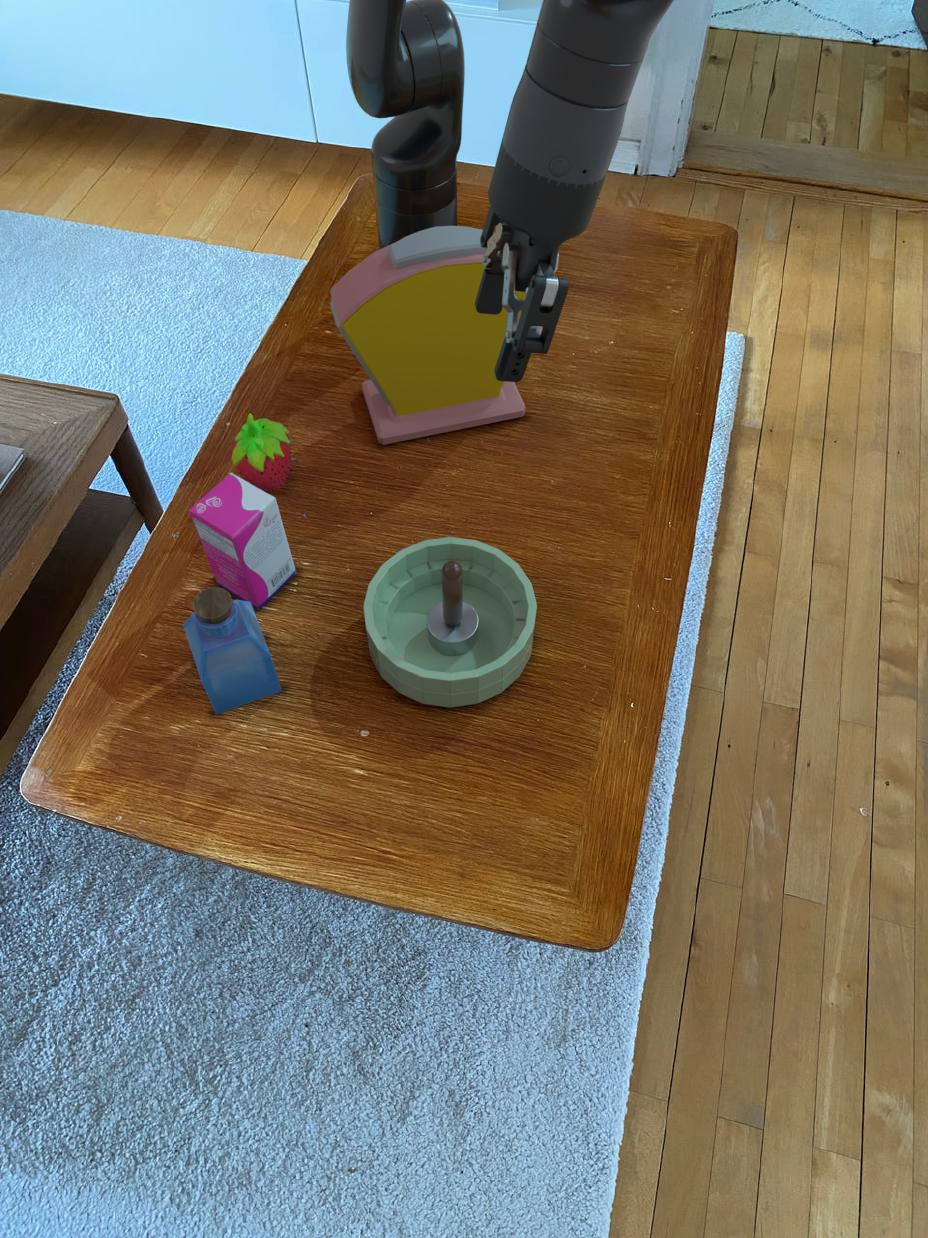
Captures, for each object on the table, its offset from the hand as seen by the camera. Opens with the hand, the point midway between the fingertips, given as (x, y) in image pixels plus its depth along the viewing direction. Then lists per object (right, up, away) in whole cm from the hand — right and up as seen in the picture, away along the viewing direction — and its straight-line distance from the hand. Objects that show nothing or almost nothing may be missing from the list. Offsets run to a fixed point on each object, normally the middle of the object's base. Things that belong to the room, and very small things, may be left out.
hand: (496, 343), depth 78 cm
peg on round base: (-4, -24, +14) cm, 28 cm away
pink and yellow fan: (-5, +2, +32) cm, 32 cm away
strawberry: (-23, -8, +25) cm, 35 cm away
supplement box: (-23, -18, +18) cm, 35 cm away
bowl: (-4, -24, +14) cm, 28 cm away
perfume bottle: (-23, -28, +12) cm, 38 cm away
